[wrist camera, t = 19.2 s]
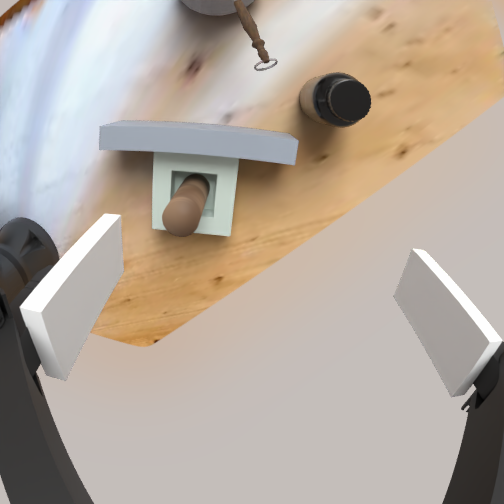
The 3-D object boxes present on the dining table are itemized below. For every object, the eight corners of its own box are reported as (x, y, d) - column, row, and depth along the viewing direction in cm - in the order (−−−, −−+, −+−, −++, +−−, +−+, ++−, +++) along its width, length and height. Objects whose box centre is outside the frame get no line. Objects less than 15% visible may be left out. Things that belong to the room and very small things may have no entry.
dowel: (180, 199, 44) (161, 234, 33) (182, 172, 42) (162, 199, 31) (208, 202, 44) (198, 238, 34) (211, 175, 42) (200, 203, 32)
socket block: (160, 215, 47) (152, 228, 43) (163, 144, 42) (154, 150, 37) (231, 222, 48) (230, 236, 43) (239, 150, 43) (239, 157, 38)
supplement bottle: (331, 131, 42) (360, 143, 31) (290, 107, 40) (307, 110, 29) (354, 92, 39) (390, 93, 28) (313, 67, 37) (338, 57, 27)
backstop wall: (121, 140, 41) (99, 149, 34) (122, 120, 40) (99, 126, 33) (285, 153, 43) (294, 165, 36) (289, 133, 42) (298, 140, 35)
